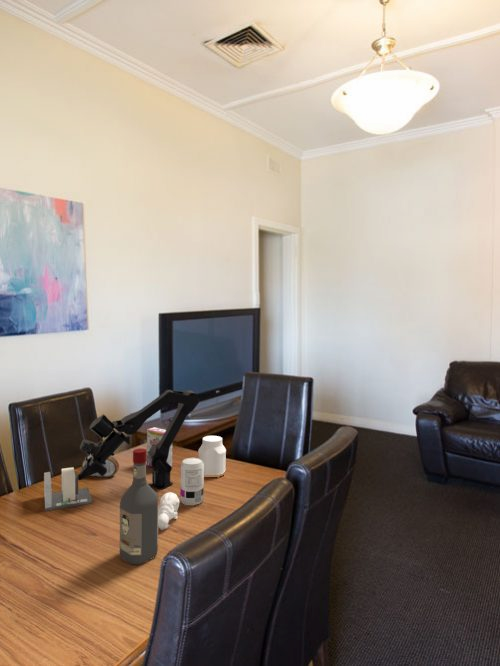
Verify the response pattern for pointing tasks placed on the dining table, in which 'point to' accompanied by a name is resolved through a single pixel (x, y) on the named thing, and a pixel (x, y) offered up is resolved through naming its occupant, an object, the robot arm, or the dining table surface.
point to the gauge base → (56, 499)
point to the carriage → (69, 484)
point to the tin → (110, 465)
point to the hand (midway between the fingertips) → (78, 479)
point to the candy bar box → (154, 438)
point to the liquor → (139, 515)
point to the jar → (213, 455)
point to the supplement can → (192, 481)
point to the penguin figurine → (167, 509)
